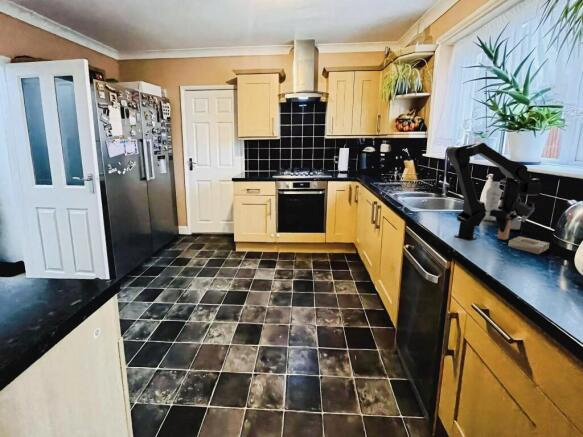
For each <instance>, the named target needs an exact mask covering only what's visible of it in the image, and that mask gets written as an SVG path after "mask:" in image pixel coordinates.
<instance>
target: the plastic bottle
mask: <svg viewBox="0 0 583 437" xmlns="http://www.w3.org/2000/svg"><path fill="white" fill-rule="evenodd" d="M500 186H501V183H500V181H491V182H490V187H489V188H488V189H487V190H486V197H485V209H486V210H487V212H486V216H485V217H484V219H483V220H485V221H487V222H488V221H489V222H493V221H494V222H495V221H497V220H496V218H495V217H493V216H489V215H490V211H491V210H493V209H498V207H499V202H500V200H501V199H500V197H502V195H503V191H502V189H501V188H500Z"/></svg>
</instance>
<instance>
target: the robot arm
mask: <svg viewBox="0 0 583 437" xmlns="http://www.w3.org/2000/svg"><path fill="white" fill-rule="evenodd" d="M477 155H478V156H480V157H482V158H484V159H485V160H487V161H488V162H490V163H491V164H493V165H494V166H495V167H497V168H498V169H499V170H500V172H501V173H502V174H503V175H504V176H505V177H504V178H503V179H501V180H500V181H499V182H500V184H504V187H503V191H502V195H501V197H500V200H501V202H500V205H498V208H497V209H493V210H491V211H490V215H489V216H493V217H495V218H496V220H495V221H496V222H497V226H498V230H499V229H500V231H501V232H504V230H505V228H506V225H507V222H508V220H512V221H513V220H514V219H515V218H519V217H520V216H521V215H522V216H523V215H524V216H526V217H527V216H529V217H530V216H531V215H532V214H533V212H535V209H536V207H535V203H533V202H528V203H527V204H526V203H525V202H522V198H521V197H520V196H539V195H541V193H542V192H543V189H544V188H543V185H542V182H541V179H540V178H532V177H531V176H530V174H529V172H528V167H527V165H526V164H522V163H520V162H517V161H515V160H511V159H509V158H507V157H506V156H504V155H502V154H501V153H499V152H498V151H496V150H495V149H493V148H492V147H490V146H489V145H488V144H486V143H485V142H475V143H471V144H467V145H461V146H460V145H453V146H451V147H450V148H449V149H448V150H447V151H446V157H447V159H448V161H449V163H450V165H451V166H452V167H453V168H454V170H455V172H456V176H457V179H458V183H459V187H460V191H461V193H462V198H463V205H462V211H461V212H460V213H459V214H457V215H456V221H458V222H459V228H458V232H457V234H455V235H454V237H456V238H460V239H463V240H466V241H473V240H475V239H478V238H477V237H478V236H476V235H475V229H476V227H479V226H480V225H481V224H482V221H483V220H484V217H485V216H486V212H487V210H486V209H485V205H486V202H485V201H481V200H479V199H478V197H477V193H476V190H475V185H474V182H473V179H472V174H471V172H470V167H469V165H470V163H471V162H470V161H471V158H472V157H474V156H477ZM510 178H511V179H510ZM517 213H519V214H520V215H519V214H517ZM512 221H511V223H512Z"/></svg>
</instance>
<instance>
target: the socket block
mask: <svg viewBox="0 0 583 437" xmlns="http://www.w3.org/2000/svg"><path fill="white" fill-rule="evenodd" d="M507 247H509V248H513V249H517V250H521V251H524V252H525V251H526V252H528V253H532V254H537V255H540V254H542V253H543V252H545V251H547V249H548V250H549V247H550V242H546V241H543V240H542V241H541V240H538V239H533V238H529V237H525V236H517V237H514V238H511V239H509V240H508V245H507Z"/></svg>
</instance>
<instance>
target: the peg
mask: <svg viewBox="0 0 583 437" xmlns="http://www.w3.org/2000/svg"><path fill="white" fill-rule="evenodd" d="M511 221H512V220H508V222H507V225H506V228H505V230H504V232H501V231H500V229H499V228H498V232H497V236H496V237H497V238H496V239H500V240H505V241H506V240H508V239H509V236H510V231H511V229H510V226H511Z"/></svg>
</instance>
